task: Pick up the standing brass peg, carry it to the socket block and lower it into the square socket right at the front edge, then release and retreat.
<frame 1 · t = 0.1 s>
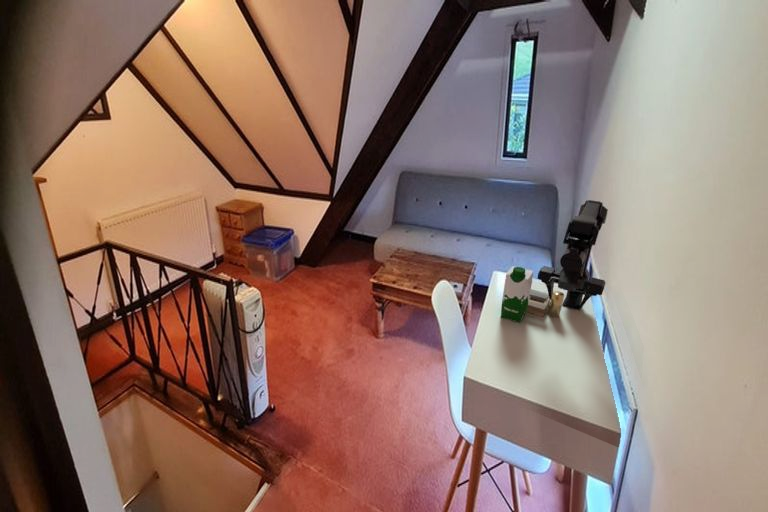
hand: (565, 303, 126), 15 cm above the table, fingers open, 9 cm apart
socket block: (535, 307, 151), on the table
milk carton: (512, 315, 146), on the table
peg: (553, 314, 146), on the table
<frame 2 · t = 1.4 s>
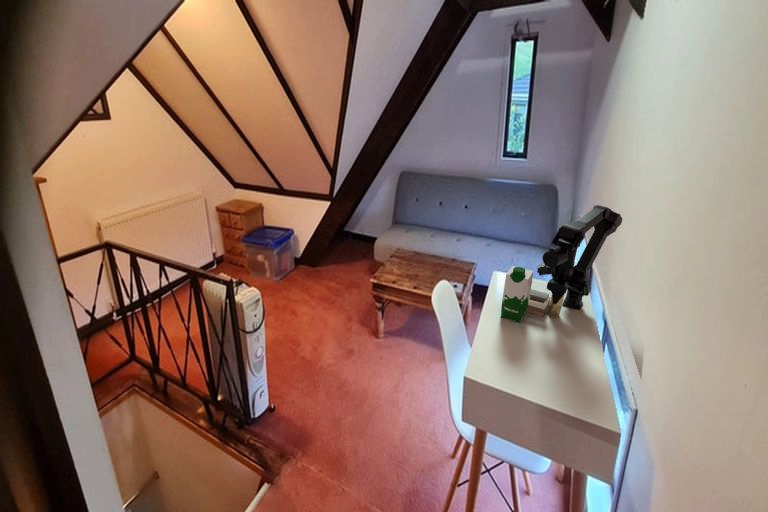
hand: (557, 298, 144), 7 cm above the table, fingers open, 9 cm apart
nothing on the table moved.
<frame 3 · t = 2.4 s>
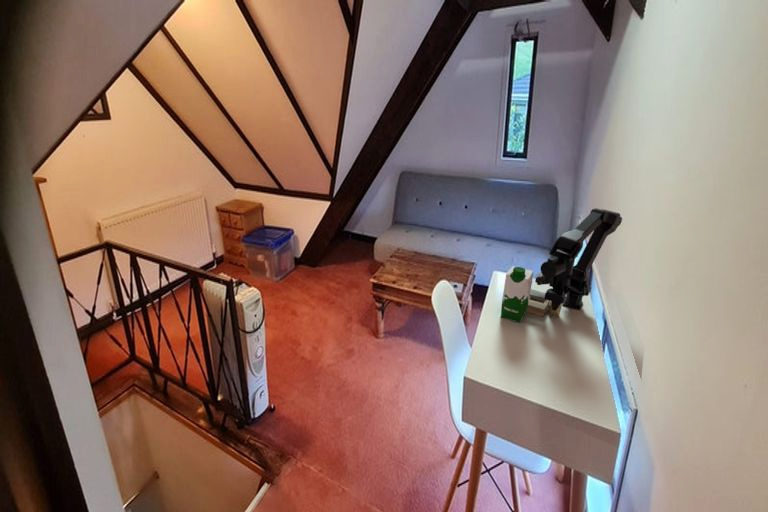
hand: (555, 307, 145), 3 cm above the table, fingers closed on peg, 4 cm apart
peg: (553, 314, 146), on the table, touching gripper
everything else where it was.
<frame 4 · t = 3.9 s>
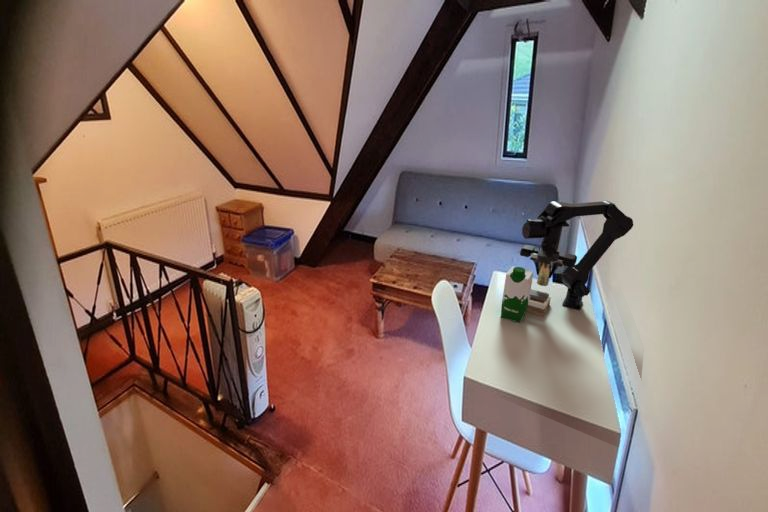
hand: (543, 276, 146), 13 cm above the table, fingers closed on peg, 4 cm apart
peg: (542, 283, 148), point 10 cm above the table, touching gripper
everything else where it was.
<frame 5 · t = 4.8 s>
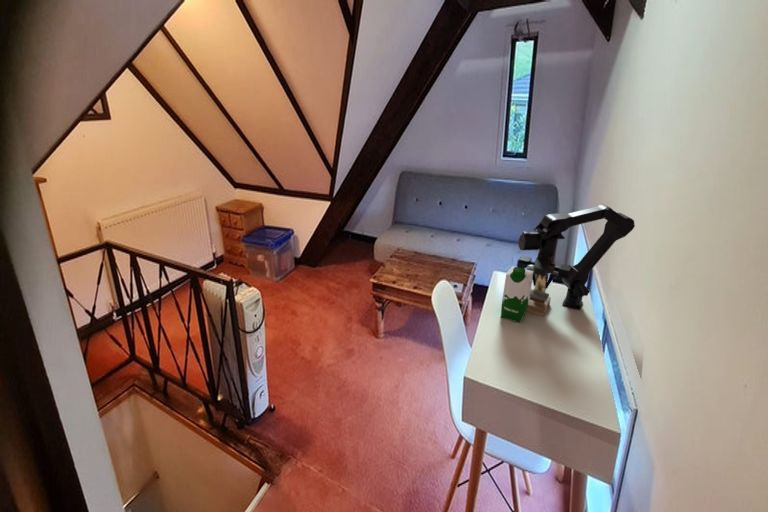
hand: (540, 286, 149), 8 cm above the table, fingers closed on peg, 4 cm apart
peg: (539, 293, 150), point 5 cm above the table, touching gripper
everything else where it was.
when the fingers open (6 cm above the table, at t = 5.4 s): peg drops 3 cm, resting in socket block.
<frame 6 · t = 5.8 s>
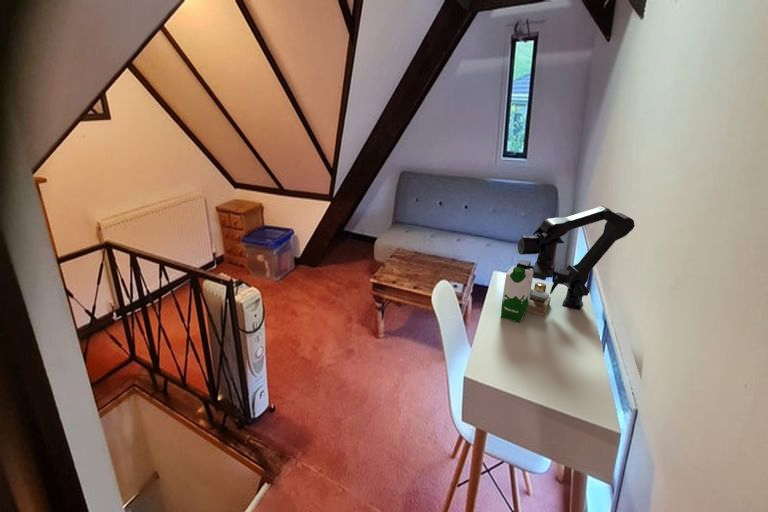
hand: (539, 290, 150), 6 cm above the table, fingers open, 8 cm apart
peg: (536, 305, 153), resting in socket block
everything else where it was.
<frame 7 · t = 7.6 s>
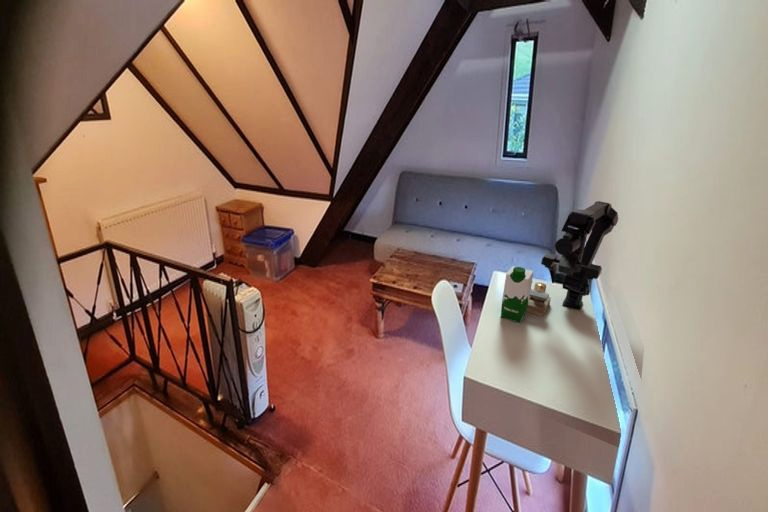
hand: (566, 286, 141), 12 cm above the table, fingers open, 9 cm apart
nothing on the table moved.
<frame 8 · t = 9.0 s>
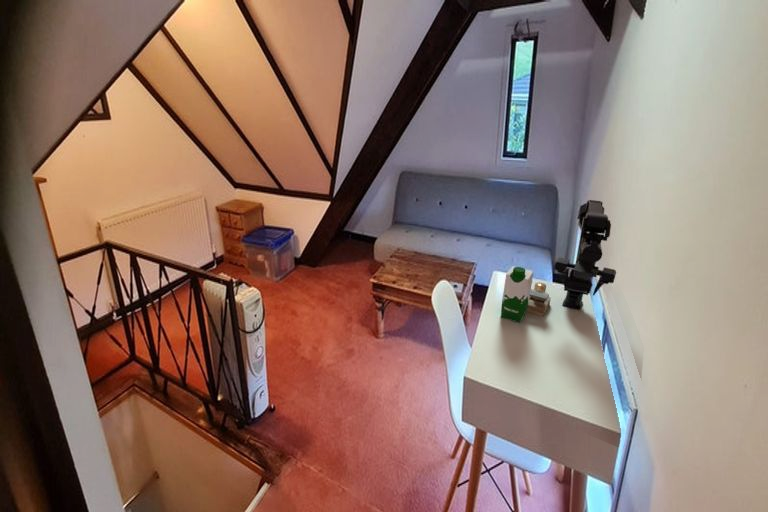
hand: (579, 291, 138), 12 cm above the table, fingers open, 9 cm apart
nothing on the table moved.
at the end: peg 0.1 cm from the target spot on the socket block, point 0.0 cm above the socket block's base; peg tilted 0°; the gripper is holding nothing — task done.
